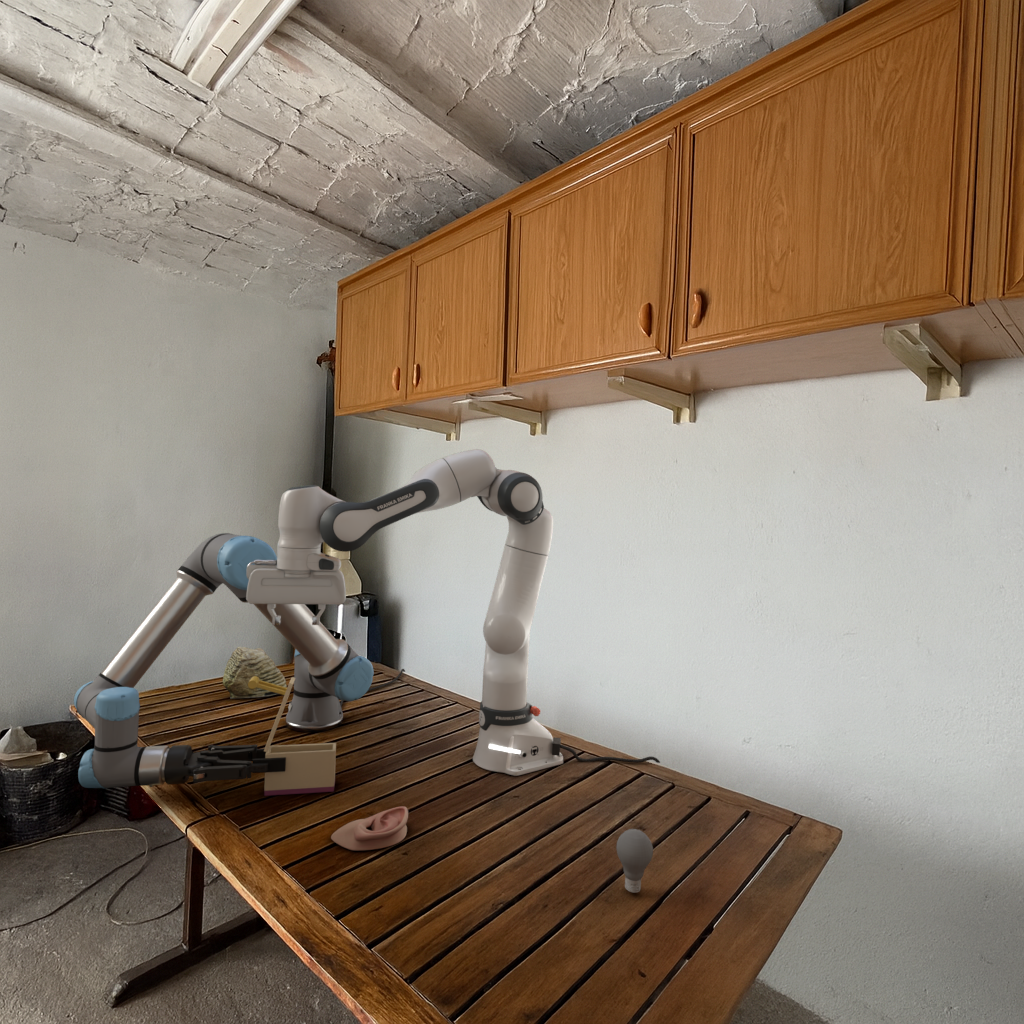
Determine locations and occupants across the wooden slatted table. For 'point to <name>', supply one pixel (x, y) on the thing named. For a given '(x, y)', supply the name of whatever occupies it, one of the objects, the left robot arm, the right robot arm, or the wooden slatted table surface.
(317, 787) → the purple-based tan box
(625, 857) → the light bulb
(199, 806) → the wooden slatted table surface
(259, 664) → the fossil
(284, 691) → the lid
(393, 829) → the anatomical model
